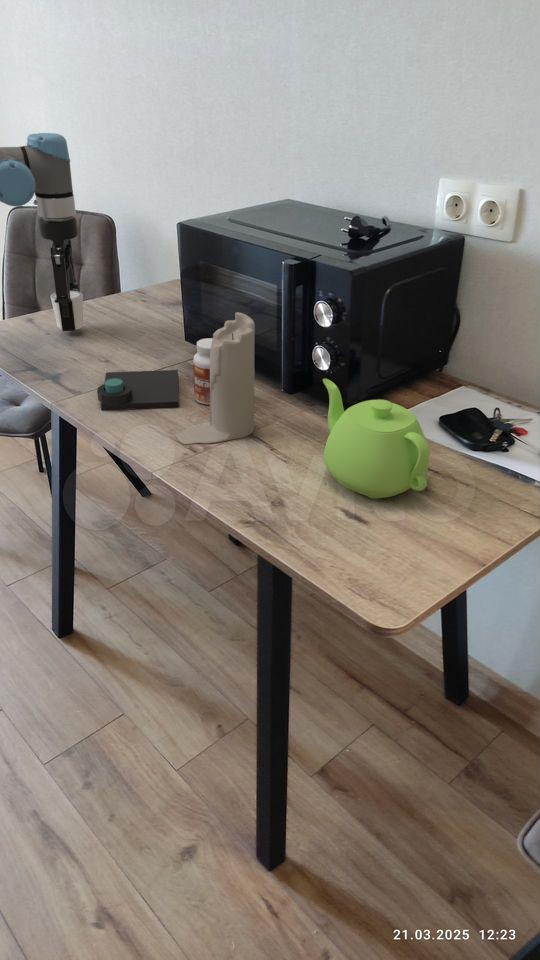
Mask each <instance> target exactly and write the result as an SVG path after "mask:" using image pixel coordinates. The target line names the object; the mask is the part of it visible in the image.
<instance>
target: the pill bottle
mask: <svg viewBox="0 0 540 960" xmlns="http://www.w3.org/2000/svg"><path fill="white" fill-rule="evenodd" d="M212 340H213V337H211V338H209V337H208V338H201V339H199V340H198V341H196V353H195V354H194V356H193V359H192V366H193V367H192V368H193V395H194V399H195V401H196V402H197V403H199V404H201V405H207V406H210V352H211V343H212Z"/></svg>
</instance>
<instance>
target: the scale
mask: <svg viewBox="0 0 540 960" xmlns="http://www.w3.org/2000/svg"><path fill="white" fill-rule="evenodd" d="M113 378H117V379H121V380H122V381H123V389H124V390H123V391H122V392H120V393H114V394H110V393H106V390H105V381H106V380H108V379H113ZM179 389H180V388H179V370H178V369H167V370H165V369H164V370H161V369H160V370H136V371H107V372H105V377H104V383H103V384H101V385H100V386H98V387H97V390H96V395H97V401H98V402H100V410H101V411H117V410H118V411H119V410H140V409H141V410H142V409H143V410H144V409H167V408H180V392H179V391H180V390H179Z"/></svg>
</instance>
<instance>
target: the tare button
mask: <svg viewBox="0 0 540 960" xmlns="http://www.w3.org/2000/svg"><path fill="white" fill-rule="evenodd" d="M104 382H105V390H106V393H110V394H114V393H120V392H122V391H123V390H124V389H123V381H122V380H121V379H117V378H113V379H108V380H106V381H105V380H104Z"/></svg>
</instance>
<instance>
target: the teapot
mask: <svg viewBox="0 0 540 960" xmlns="http://www.w3.org/2000/svg"><path fill="white" fill-rule="evenodd" d="M322 382H323V384H324V386H325V388H326V390H327V392H328V398H329V404H328V412H327V428H328V431H329V434H328V436H327V440H326V443H325V446H324V450H323V461H324V462H323V463H324V465H325V467H326V468H327V470H328V471H329V473H330V474H331V476H333V477H334V479H335V480H336V481H337V482H338V483H339V484H340V485H342V486H343V487H345V488H346V489H348V490H350V491H353V492H356V493H357V494H360V495H363V496H366V497H367V498H369V499H373V500H379V499H381V498H390V497H394V496H397V495H400V494H403V493H404V492H406V491H408V490H410V489H411V490H413V491H415V492H416V491H417V492H420V491H423V490H425V489H426V487H427V486H428V480H427V478H426V477H425V476H426V474H427V472H428V470H429V464H430V452H431V449H430V445H429V443H428V441H427V440H426V439H427V438H426V436H425V434H424V432H423V429H422V426H421V423H420V422H419V420H418V418H417V417H416V415H415V414H414V413H413V412H412V411H410V410H409V409H407V408H406V407H404V406H402V405H399V404H397V403H394V402H391V401H389V400H388V399H387V400H386V399H369V400H363V401H361V402H358V403H356V404H353V405H351V406H349V407H347V409H346V410H345V409H344V404H343V398H342V394H341V391H340V389H339V387H338V386H337V385H336V383H334V382H333V381H332V380H330V379H328V378H322Z"/></svg>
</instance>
